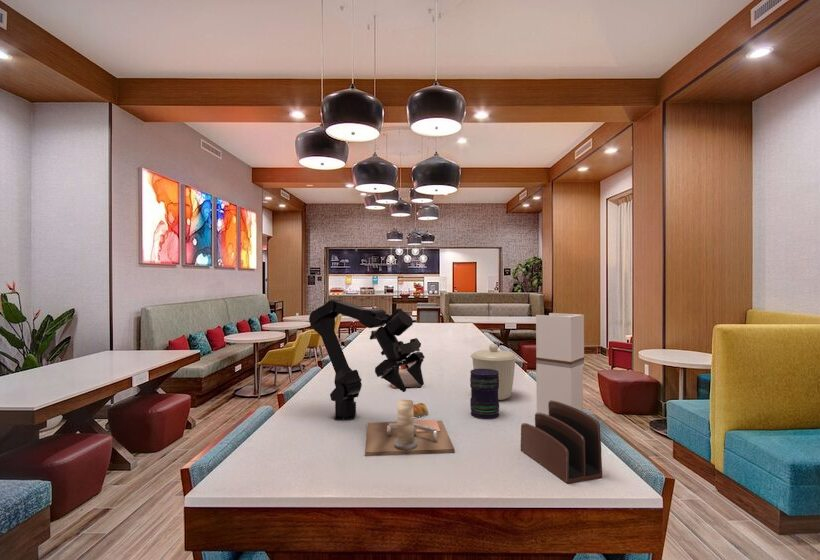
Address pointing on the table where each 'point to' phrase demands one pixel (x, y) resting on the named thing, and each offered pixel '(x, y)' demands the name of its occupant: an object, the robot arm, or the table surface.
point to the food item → (407, 378)
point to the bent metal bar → (414, 430)
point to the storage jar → (484, 393)
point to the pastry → (419, 410)
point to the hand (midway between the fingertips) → (414, 388)
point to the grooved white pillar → (559, 360)
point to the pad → (427, 423)
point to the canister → (497, 367)
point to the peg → (405, 426)
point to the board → (385, 445)
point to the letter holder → (564, 443)
